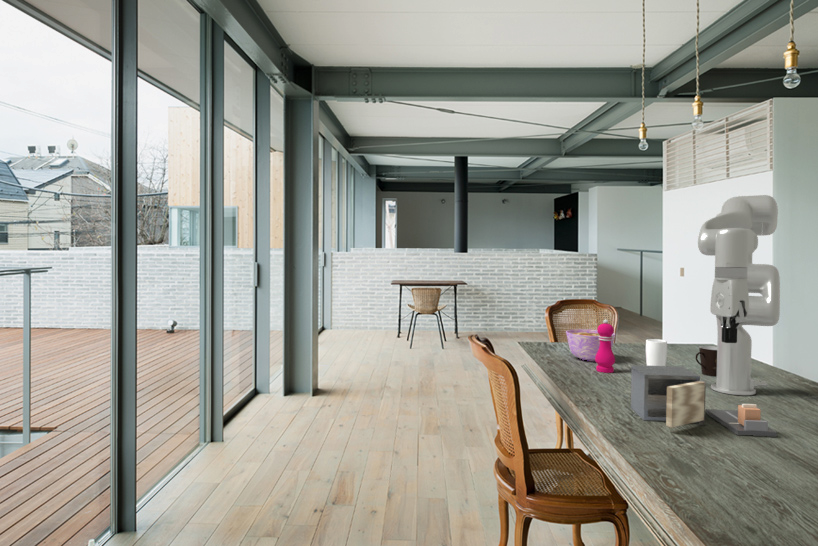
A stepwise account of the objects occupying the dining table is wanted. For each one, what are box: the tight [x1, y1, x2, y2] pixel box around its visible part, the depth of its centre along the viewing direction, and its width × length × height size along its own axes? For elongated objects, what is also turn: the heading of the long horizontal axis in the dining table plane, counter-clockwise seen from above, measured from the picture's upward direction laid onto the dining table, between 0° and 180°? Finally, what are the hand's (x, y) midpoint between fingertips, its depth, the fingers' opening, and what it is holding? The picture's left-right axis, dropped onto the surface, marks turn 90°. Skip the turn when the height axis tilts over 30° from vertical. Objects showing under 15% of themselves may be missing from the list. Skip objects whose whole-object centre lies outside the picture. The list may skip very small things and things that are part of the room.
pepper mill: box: [594, 318, 616, 374], centre depth 199 cm, size 7×7×20 cm
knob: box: [737, 403, 762, 426], centre depth 132 cm, size 4×4×5 cm
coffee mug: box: [695, 345, 717, 377], centre depth 194 cm, size 12×9×10 cm
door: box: [665, 380, 707, 429], centre depth 134 cm, size 14×2×12 cm, turn 118°
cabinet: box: [630, 364, 701, 424], centre depth 145 cm, size 14×12×12 cm
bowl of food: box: [565, 328, 616, 362], centre depth 221 cm, size 20×20×12 cm
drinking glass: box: [645, 338, 668, 366], centre depth 181 cm, size 7×7×15 cm
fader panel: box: [705, 408, 778, 438], centre depth 137 cm, size 9×18×4 cm, turn 173°
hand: (729, 342), depth 139 cm, fingers closed
